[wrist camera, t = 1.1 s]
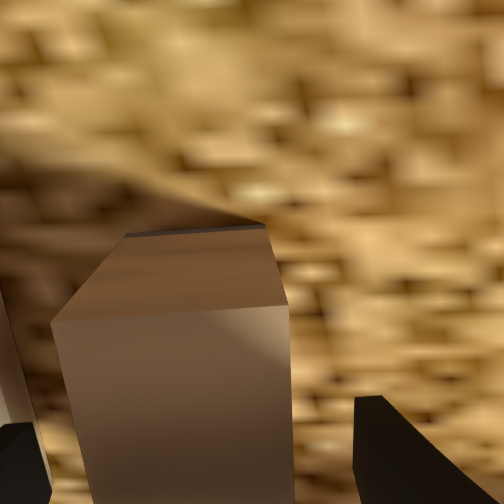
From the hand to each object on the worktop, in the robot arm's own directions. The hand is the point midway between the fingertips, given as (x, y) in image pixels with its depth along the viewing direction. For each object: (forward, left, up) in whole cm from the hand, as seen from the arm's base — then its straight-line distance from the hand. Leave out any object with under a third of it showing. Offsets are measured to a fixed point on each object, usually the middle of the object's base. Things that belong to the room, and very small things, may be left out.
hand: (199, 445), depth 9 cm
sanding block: (0, 0, -4) cm, 4 cm away
